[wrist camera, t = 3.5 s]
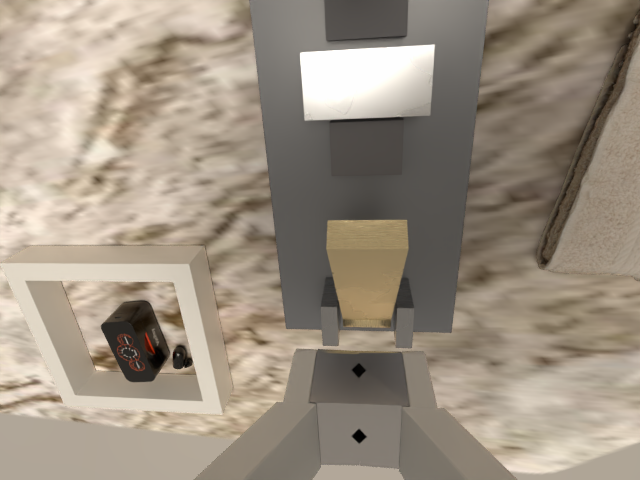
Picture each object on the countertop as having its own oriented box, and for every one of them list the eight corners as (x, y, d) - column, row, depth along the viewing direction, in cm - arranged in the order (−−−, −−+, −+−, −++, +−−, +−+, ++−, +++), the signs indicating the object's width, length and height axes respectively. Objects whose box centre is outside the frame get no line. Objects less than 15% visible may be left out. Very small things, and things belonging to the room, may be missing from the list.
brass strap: (406, 212, 15) (408, 256, 14) (388, 303, 26) (389, 330, 26) (327, 213, 15) (326, 256, 14) (344, 303, 27) (344, 329, 26)
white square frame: (204, 245, 30) (189, 264, 28) (233, 388, 37) (222, 414, 34) (30, 245, 32) (-1, 263, 29) (86, 381, 38) (65, 406, 36)
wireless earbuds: (149, 363, 37) (130, 389, 34) (121, 299, 34) (98, 323, 31) (195, 360, 36) (180, 387, 33) (170, 295, 33) (151, 319, 30)
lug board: (512, -378, 16) (596, -626, 10) (443, 308, 30) (462, 368, 25) (229, -328, 17) (161, -520, 12) (292, 305, 32) (276, 361, 26)
